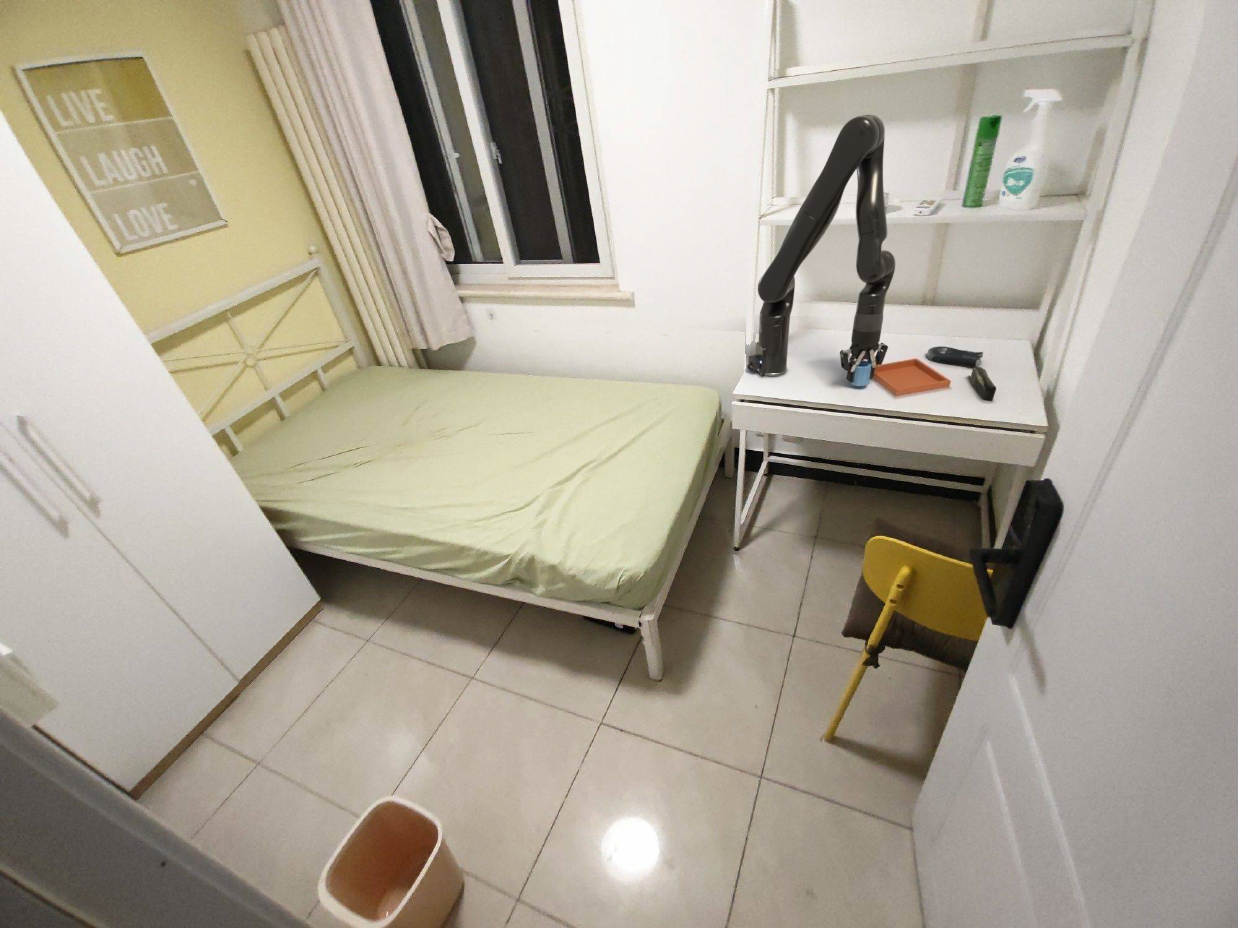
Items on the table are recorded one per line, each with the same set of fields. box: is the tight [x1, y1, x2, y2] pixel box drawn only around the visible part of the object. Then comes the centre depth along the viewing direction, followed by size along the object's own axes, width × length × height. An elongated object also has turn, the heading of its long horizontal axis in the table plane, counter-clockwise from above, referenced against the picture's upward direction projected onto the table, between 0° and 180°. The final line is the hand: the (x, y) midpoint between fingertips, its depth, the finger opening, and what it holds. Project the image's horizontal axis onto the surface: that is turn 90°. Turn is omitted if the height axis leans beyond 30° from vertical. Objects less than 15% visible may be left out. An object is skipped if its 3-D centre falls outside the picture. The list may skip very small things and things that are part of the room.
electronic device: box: [926, 345, 984, 368], centre depth 176 cm, size 9×6×15 cm
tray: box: [872, 358, 952, 397], centre depth 169 cm, size 17×17×2 cm
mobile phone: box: [967, 366, 997, 402], centre depth 159 cm, size 5×3×15 cm
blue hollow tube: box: [850, 360, 872, 387], centre depth 166 cm, size 5×5×6 cm
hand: (859, 379), depth 168 cm, fingers closed on blue hollow tube, 5 cm apart
